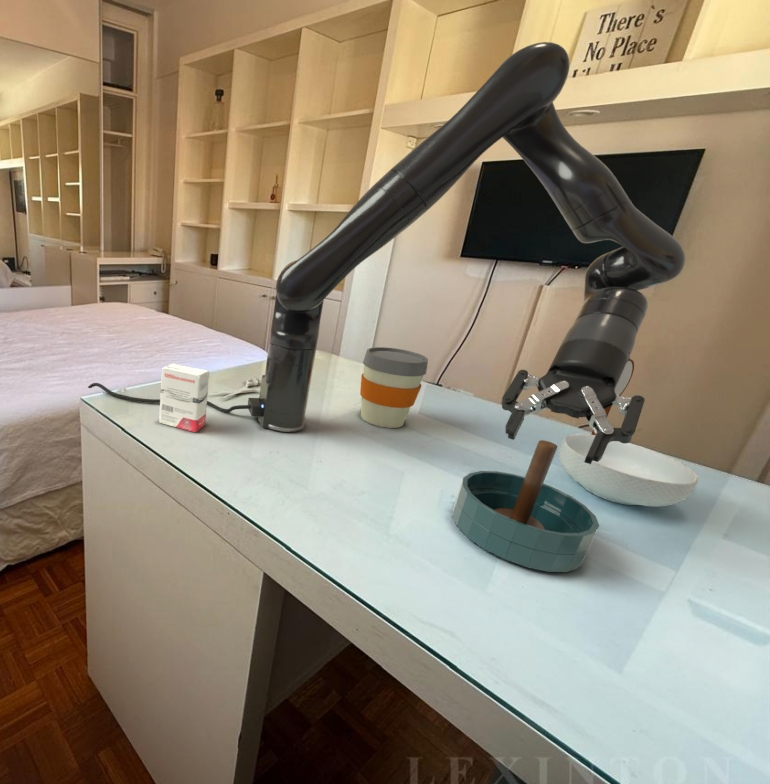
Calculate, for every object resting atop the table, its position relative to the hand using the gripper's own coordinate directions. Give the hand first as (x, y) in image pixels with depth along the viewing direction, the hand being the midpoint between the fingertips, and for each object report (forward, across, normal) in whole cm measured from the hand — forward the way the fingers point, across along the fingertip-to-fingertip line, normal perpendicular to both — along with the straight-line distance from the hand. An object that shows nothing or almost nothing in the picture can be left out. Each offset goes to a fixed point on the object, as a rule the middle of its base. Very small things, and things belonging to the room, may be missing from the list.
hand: (547, 448), depth 61 cm
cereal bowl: (-9, +8, +28) cm, 30 cm away
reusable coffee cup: (-7, -31, +26) cm, 41 cm away
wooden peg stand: (+10, 0, +7) cm, 13 cm away
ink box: (+20, -55, -1) cm, 59 cm away
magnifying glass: (-20, +3, +39) cm, 44 cm away
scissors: (+2, -60, +16) cm, 62 cm away
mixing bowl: (+11, 0, +8) cm, 13 cm away
